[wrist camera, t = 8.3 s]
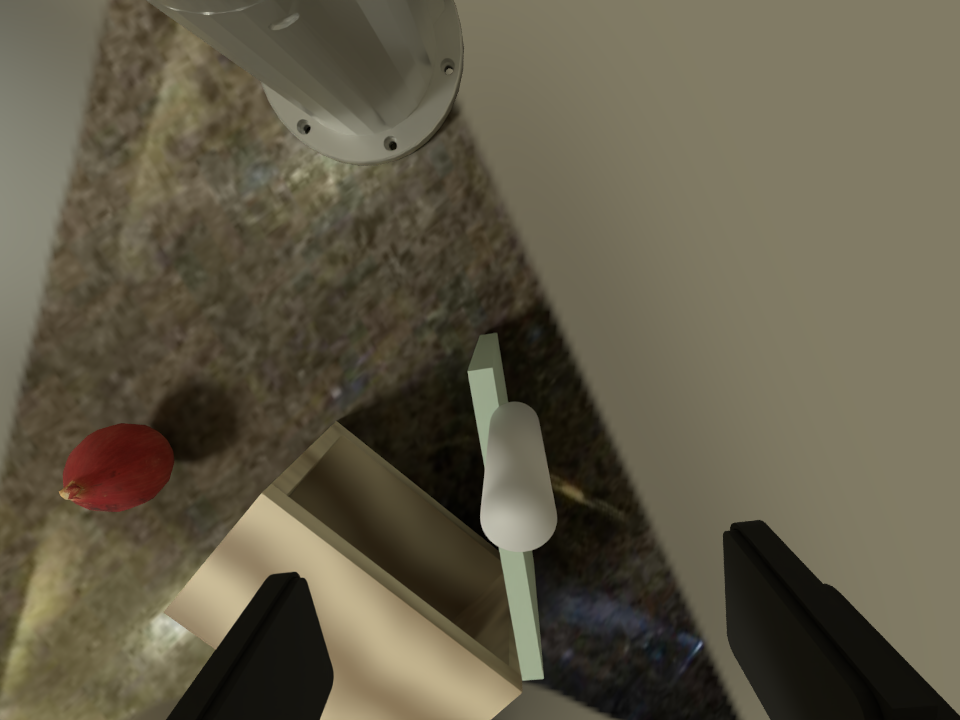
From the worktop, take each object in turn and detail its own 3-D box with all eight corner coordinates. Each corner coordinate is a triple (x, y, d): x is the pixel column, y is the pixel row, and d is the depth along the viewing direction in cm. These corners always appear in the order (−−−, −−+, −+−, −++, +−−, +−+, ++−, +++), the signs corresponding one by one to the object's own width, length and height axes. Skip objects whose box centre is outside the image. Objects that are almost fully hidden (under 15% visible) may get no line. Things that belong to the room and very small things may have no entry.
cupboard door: (523, 328, 31) (543, 423, 13) (556, 558, 35) (607, 865, 17) (479, 335, 31) (444, 437, 14) (518, 562, 35) (528, 869, 18)
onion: (202, 482, 35) (116, 545, 28) (131, 476, 36) (26, 537, 28) (195, 411, 34) (103, 457, 26) (122, 406, 34) (9, 450, 27)
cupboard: (336, 421, 34) (261, 493, 23) (517, 566, 35) (522, 692, 25) (261, 510, 36) (163, 612, 25) (437, 643, 38) (410, 788, 27)
